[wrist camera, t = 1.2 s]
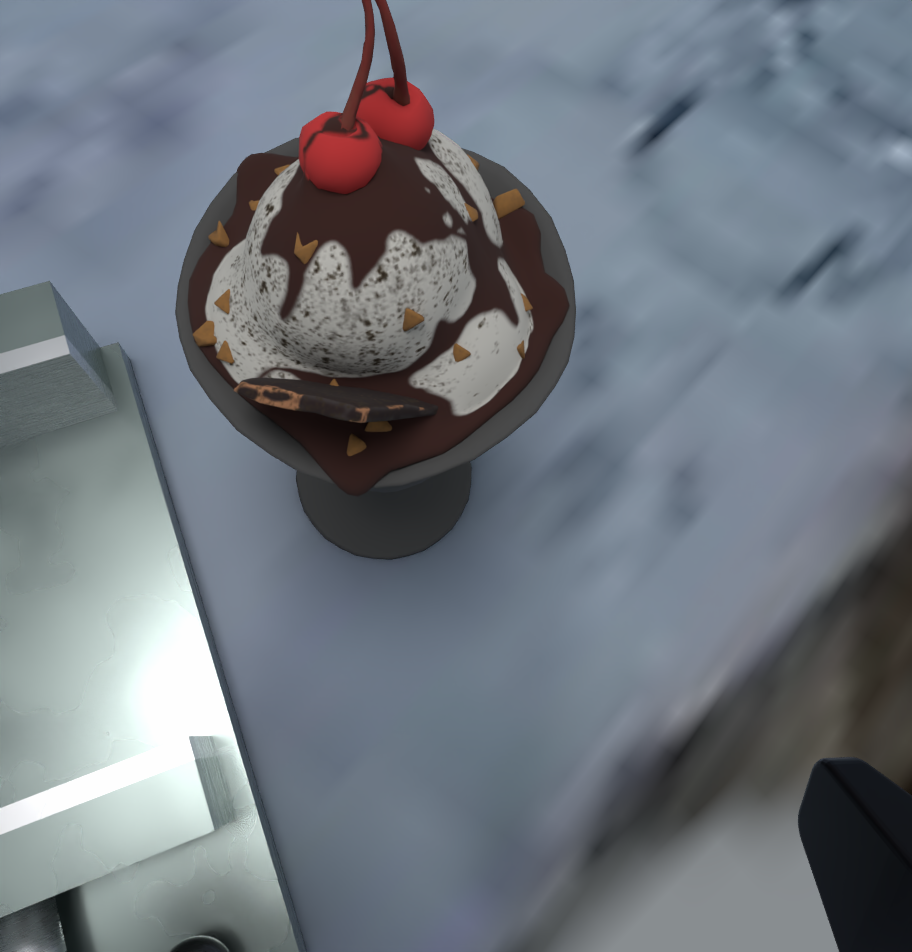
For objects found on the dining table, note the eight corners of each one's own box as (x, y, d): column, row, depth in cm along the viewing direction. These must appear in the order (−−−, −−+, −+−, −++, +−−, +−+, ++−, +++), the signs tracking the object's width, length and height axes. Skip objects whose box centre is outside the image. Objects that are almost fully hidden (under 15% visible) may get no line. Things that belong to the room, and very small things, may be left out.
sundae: (402, 325, 25) (417, -239, 10) (546, 494, 23) (790, 116, 9) (217, 451, 23) (-68, -11, 9) (362, 639, 22) (304, 459, 7)
